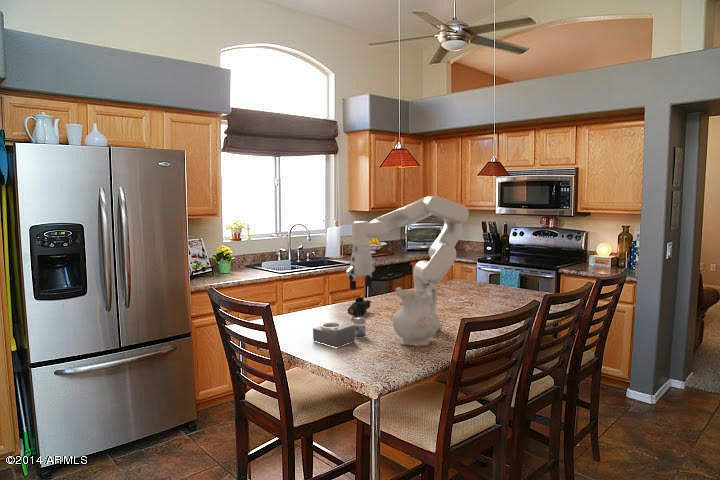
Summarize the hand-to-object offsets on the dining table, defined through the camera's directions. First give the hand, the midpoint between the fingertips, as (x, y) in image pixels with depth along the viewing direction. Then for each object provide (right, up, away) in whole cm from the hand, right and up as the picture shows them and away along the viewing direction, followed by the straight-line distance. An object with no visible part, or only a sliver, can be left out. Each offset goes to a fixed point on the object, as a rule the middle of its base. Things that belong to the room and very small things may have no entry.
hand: (360, 287), depth 218 cm
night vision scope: (-1, -18, +36) cm, 40 cm away
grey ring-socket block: (-11, -22, -8) cm, 26 cm away
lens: (0, -21, -1) cm, 21 cm away
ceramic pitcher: (+24, -22, -10) cm, 34 cm away
